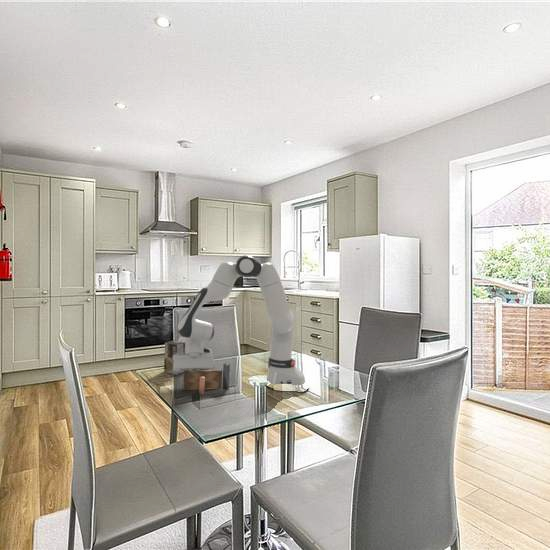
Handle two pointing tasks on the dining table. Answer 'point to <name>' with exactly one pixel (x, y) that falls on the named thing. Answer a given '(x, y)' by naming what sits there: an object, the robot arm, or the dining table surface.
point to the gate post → (226, 376)
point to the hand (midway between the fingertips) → (194, 378)
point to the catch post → (202, 385)
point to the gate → (193, 376)
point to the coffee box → (170, 350)
